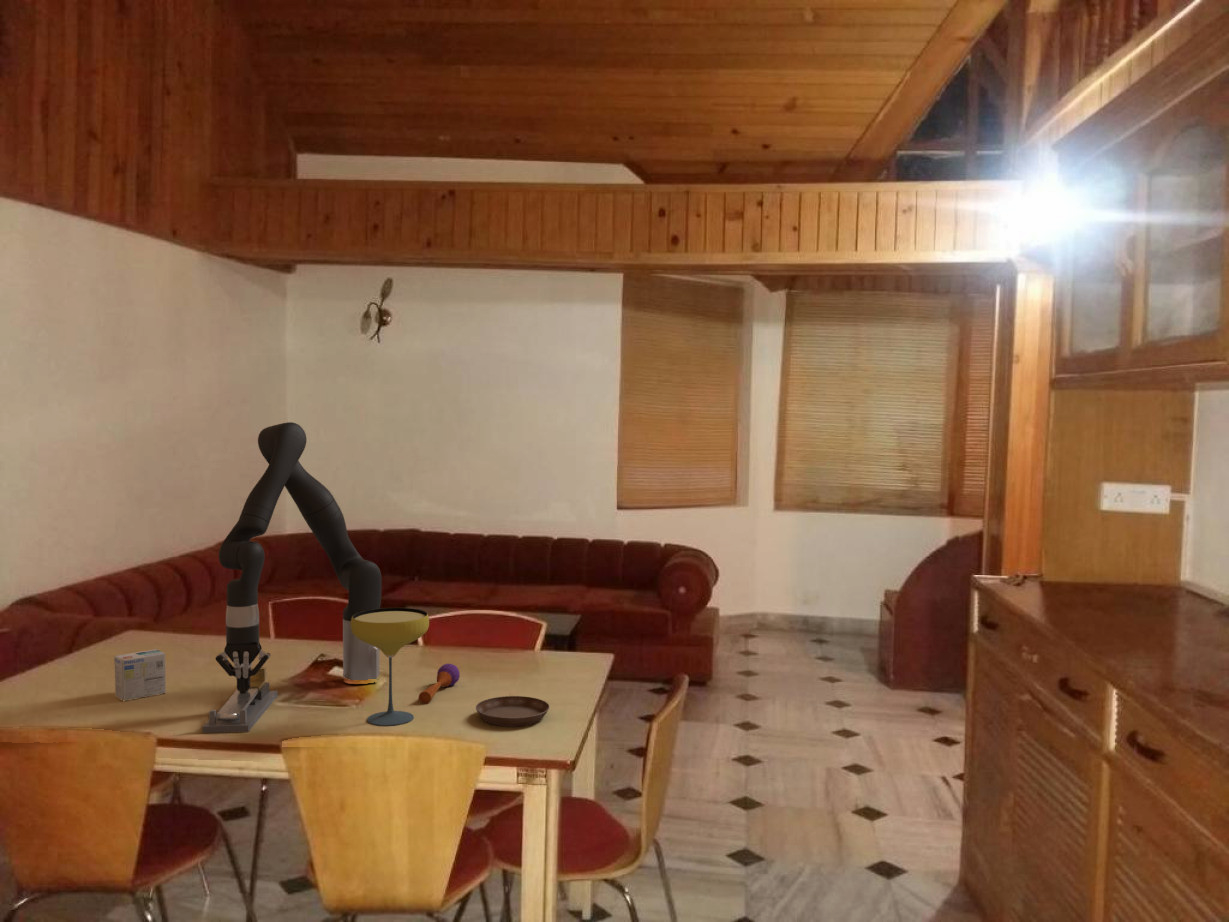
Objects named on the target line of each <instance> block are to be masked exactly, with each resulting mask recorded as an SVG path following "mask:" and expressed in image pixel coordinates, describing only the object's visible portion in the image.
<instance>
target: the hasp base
mask: <svg viewBox="0 0 1229 922" xmlns="http://www.w3.org/2000/svg"><path fill="white" fill-rule="evenodd" d="M277 698H278V690H270V682H266V681H265V685H264V686H263V687H262V688H261V689H260V690H258V693H257V695H256V696H255V698H254V699H253V700H252V702H251V703H250V704H249V706H248V707H247V709H241V710H240V717H239V718H238V720H222V721H217V714H218V712H219V711H220V710H221V709H222V707H223V706H224V705H225V704H226V702H225V703H224V704H223V705H222V706H221V707H220V708H219V709H218V710H216V709H210V710H209V711H208V720H207V721H206V722H205V723H204V724H203V726H202V734H215V733H216V734H218V733H219V734H220V733H223V734H224V733H248V732H249V731H251V729H252V728H253V727H254V725H256V723H257V722H258V721H259V720H260V718H261V717H262V716H263V715H264V714H265V713H266V711H267V710H268V709H269V708H270V706H271V705H272V704H273V702H275V700H276V699H277Z"/></svg>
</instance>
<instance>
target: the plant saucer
mask: <svg viewBox="0 0 1229 922" xmlns="http://www.w3.org/2000/svg"><path fill="white" fill-rule="evenodd" d="M475 709H476V712H477V714H478V715H479V717H481V719H482V720H483V721H485V722H486V723H488V724H491V725H494V726H499V727H522V726H529V725H533V724H536V723H538V722H539V721H541V720H542V719H543V718H544V717H545V716H546V714H547V713H548V711H549V710H550V704H549V703H548V702H547V701H545V700H543V699H540V698H537V697H531V696H525V695H524V696H522V695H521V696H520V695H509V696H508V695H506V696H496V697H492V698H491V697H490V698H488V699H484V700H482V701H480V702H478V703H477V704H476V706H475Z"/></svg>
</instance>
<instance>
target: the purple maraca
mask: <svg viewBox="0 0 1229 922" xmlns="http://www.w3.org/2000/svg"><path fill="white" fill-rule="evenodd" d="M436 674H437V675H436V683H434V684H433V685H431V686H429V687H428V688H426V689H424V690H422V691H421V692H420V693H419V694H418V699H419V702H420V703H421V704H429V703H431V701H433V698H434V696H436V694H437V692H438V690H439V689H440V688H441V687H443V688H445V687H453V686H454V685H455V684H457V682H458V681H459V680H460V675H461V674H460V670H459V668H458V667H457V665H456V664H455V665H454V664H453V663H444V664H442V665H441V666H440V667H439V669H438V670H437V673H436Z"/></svg>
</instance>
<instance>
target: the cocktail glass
mask: <svg viewBox="0 0 1229 922" xmlns="http://www.w3.org/2000/svg"><path fill="white" fill-rule="evenodd" d="M429 627H430V617H429V614H428V611H425V610H422V609H418V608H409V607H384V608H383V607H382V608H381V607H380V609H372V610H366V611H362V612H359V613H356V614H354V615H353V616H352V619H351V629H352V633H353V634H354V635H355V636H356V637H357V638H358V639H360V640H361V641H363V642H365V643H368V644H370V645H372V646H375V647H377V648H379V651H381V652H382V653H383V655H385V657H387V658H388V661H389V662H388V671H389V672H388V705H387V710H386V711H385V710H384V711H380V712H377V713H373V714H371V715H370V716H368V717H367V718H366V721H367V722H368V723H369V724H370V725H374V726H378V727H393V726H395V727H396V726H400V725H405V724H408V723H410V722H411V721H413V719H414V714H413V713H411V712H409V711H408V712H407V711H404V710H402V711H401V710H395V709H394V705H393V676H392V675H393V673H392V672H393V671H392V670H393V658H394V657H395V656H396V655H397V654H398V652H399V651H400V650H401V649H402V648H404V647H405V646H407V645H410V644H411V643H413V642H415V641H417V640H418V639H420V638H421V637H423V636H424V635H425V634H426V633H427V631H428V629H429Z"/></svg>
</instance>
